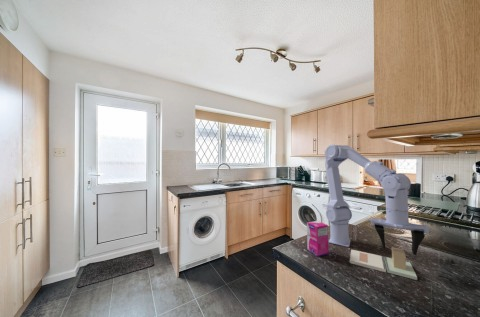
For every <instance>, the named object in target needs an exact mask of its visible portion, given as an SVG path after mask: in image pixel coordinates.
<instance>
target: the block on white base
mask: <svg viewBox="0 0 480 317" xmlns="http://www.w3.org/2000/svg"><path fill="white" fill-rule="evenodd" d="M383 258H384V263H385V267H386V273H388V274H392V275H395V276H396V275H397V276H400V277H404V278H408V279H412V280H415V281H418V276H417V274H416V272H415V270H414V267H413V266H412V264H411V262H410V261H407V258H406V252H405V250H404V249H402V248H397V247H394V246H392V247H391V257H387V256H383Z"/></svg>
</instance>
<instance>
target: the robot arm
mask: <svg viewBox="0 0 480 317" xmlns="http://www.w3.org/2000/svg"><path fill="white" fill-rule="evenodd" d="M324 156H325V161H324V167H325V172H326V179H327V186H328V193H329V199H330V201H329V202H328V203H327V204H326V211H325V215H326V218H327V220H328V222H329V225H330V226H329V229H330V232H329V233H330V236H329V237H330V238H328V244H332V245H333V244H334V245H337V246H342V247H347V248H348V247H350V245H351V238H349V223H350V220H351V219H352V217H353V213H352V210H351V209H350V206H349V203H348V202H347V201H345V200H344V194H343V188H342V180H341V176H340V170H339V166H340V165H341V164H342V163H343V162H346V160H351V161H352V162H353V163H355V164H357V165H358V166H360V167H362V168H364V172H365V174H367V175H368V176H370V177H371V178H373V179H374V180H376V181H377V182H379V183H380V186H381V188H382V189H383V190H384V195H385V196H384V197H385V217H386V219H379V218H370V226H374V228H375V231H376V233H377V235H378V236H379V238H380V242H381V244H382V245H381V247H382V249H384V250H385V249H386V242H385V228H391V229H397V230H403V231H410V232H411V233H410V234H411V252H412V254H413V255H414V256H417V253H418V249H419V247H420V245H421V243H422V241H423V240H424V239H425V237H426V234H430V229H429V226H427V225H424V224H418V223H417V224H416V223H412V222H409V220H410V218H409V201H408V189H410V187H411V183H412V182H411V179H410V178H409V176H407V175H406V174H405V173H397V171H396V170H395V169H391V168H389V167H388V166H386V165H384V162H382V161H378V160H373V161H371V160H370V159H368V158H367V157H365V156H364V155H363V154H361V153H359V152H358V151H357V150H355V148H354V147H350V146H349V145H345V144H344V145H341V144H330V145H328V146H327V147H326V148H325V150H324Z"/></svg>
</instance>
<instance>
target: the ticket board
mask: <svg viewBox="0 0 480 317" xmlns="http://www.w3.org/2000/svg"><path fill="white" fill-rule="evenodd" d="M350 250H351V251H350V255H349V264H353V265H356V266H360V267H364V268H367V269H371V270H376V271H379V272H383V273H387V269H386V265H385V260H384V255H379V254H374V253H370V252H369V253H368V252H365V251H360V250H356V249H350Z"/></svg>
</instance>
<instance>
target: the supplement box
mask: <svg viewBox="0 0 480 317" xmlns="http://www.w3.org/2000/svg"><path fill="white" fill-rule="evenodd" d="M306 237H307V238H306V239H307V240H306V242H307V245H306V246H307V251H308V252H310V253H311V254H313V255H315V256H316V257H323V256H326V255H329V254H330V252H329V250H330V249H329V246H330V245H329V242H328V241H329V225H328V224H326V223H323V222H321V221H318V220H315V221H310V222H309V221H308V222H306Z"/></svg>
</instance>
